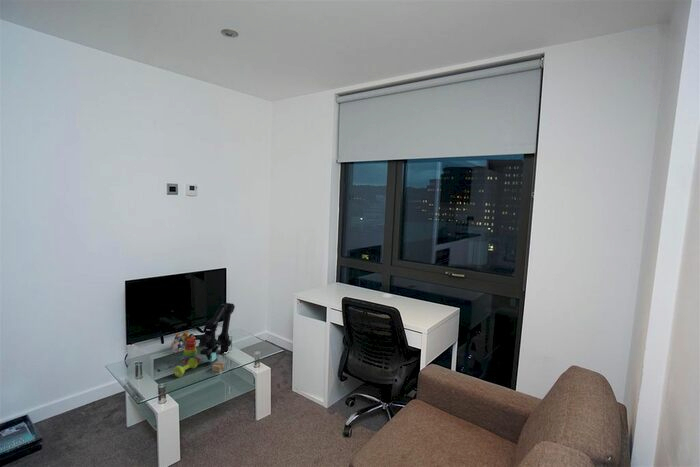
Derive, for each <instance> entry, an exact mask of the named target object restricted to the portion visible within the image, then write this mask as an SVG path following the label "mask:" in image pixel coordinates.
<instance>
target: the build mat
mask: <svg viewBox="0 0 700 467" xmlns="http://www.w3.org/2000/svg"><path fill="white" fill-rule="evenodd" d="M207 373H209V374H214V375H222V374H223V373H218V372H212V368H211V369H210V370H209V371H207Z"/></svg>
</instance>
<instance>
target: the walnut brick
mask: <svg viewBox="0 0 700 467" xmlns="http://www.w3.org/2000/svg"><path fill="white" fill-rule="evenodd" d="M224 367H225V362H223V361H222V362H221V361H215V362H214V363H213V364H212V366H211V369H212V372H218V373H220V372H221V371H222V370H223V369H224Z"/></svg>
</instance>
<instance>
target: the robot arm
mask: <svg viewBox="0 0 700 467" xmlns="http://www.w3.org/2000/svg"><path fill="white" fill-rule="evenodd" d="M235 308H236V307H235V304H234V303H230V302H225V303H222V304H219V307H218V309H217V310H216V312H215V313H214V315H213V317H212V318H210V319H208V321H206V323H205V325H204V328H203V331H202V333H203V334H202V335H201V336H200V338H199V340H198V341H199V342H198V347H199V348H202V349H201V350H200V351H199V354H200V355H204V356H205V357H206V356H207V359H208V360H210V358H211V354H212V352H213V353H216V354H217V351H218V349H219V348H220V351H219V352H218V354H220V353H224V352H227V351H228V350H229V347H231V344H232V341H231V340H230V335H229V327H230V322H231V321H230V320H231V315H232V314H233V313H234V311H235ZM222 316H223V320H222V327H221V333H220V334H219V335H217V336H218V337H217V338H216V331H217V330H218V326H219V321H220V319H221V318H222ZM203 347H204V348H203Z"/></svg>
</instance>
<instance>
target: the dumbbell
mask: <svg viewBox="0 0 700 467" xmlns="http://www.w3.org/2000/svg"><path fill="white" fill-rule="evenodd" d="M198 365H199V361H197V360H196V359H195V358H190V359H189V361H188V362H187V364H185V365H183V366H182V365H176V366H175V367H174V369H173V374H174V376H175V377H177V378H181V377H183V376H184V374H185V371H187V370H189V369H193V370H194V369H196V368H197V367H198Z"/></svg>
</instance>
